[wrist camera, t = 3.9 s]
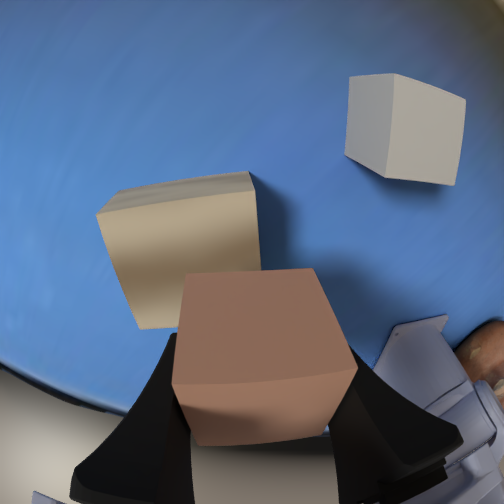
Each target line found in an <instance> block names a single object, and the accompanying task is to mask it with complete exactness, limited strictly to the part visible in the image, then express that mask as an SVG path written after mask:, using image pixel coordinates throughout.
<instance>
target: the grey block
mask: <svg viewBox="0 0 504 504" xmlns="http://www.w3.org/2000/svg"><path fill="white" fill-rule="evenodd" d="M465 107H466V100H465V99H463V98H461V97H459V96H456V95H454V94H452V93H449V92H447V91H444V90H442V89H439V88H437V87H434V86H431V85H428V84H426V83H423V82H420V81H417V80H414V79H411V78H408V77H405V76H401V75H398V74H395V73H393V74H376V75H364V76H354V77H350V78H349V102H348V118H347V132H346V144H345V154H344V155H345V156H347V157H349V158H351V159H353V160H355V161H357V162H358V163H360V164H362V165H364V166H366V167H367V168H369V169H371V170H373V171H374V172H376V173H378V174H380V175H381V176H383V177H385V178H395V179H404V180H413V181H422V182H430V183H437V184H445V185H451V186H454V185H455V180H456V175H457V169H458V164H459V158H460V152H461V145H462V137H463V129H464V119H465Z"/></svg>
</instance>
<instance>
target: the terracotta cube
mask: <svg viewBox="0 0 504 504" xmlns="http://www.w3.org/2000/svg"><path fill="white" fill-rule="evenodd" d="M357 369H358V366H357V364H356V362H355V359H354V357H353V355H352V352H351V350H350V348H349V346H348V343H347V341H346V339H345V336H344V334H343V332H342V330H341V327H340V325H339V323H338V321H337V319H336V316H335V314H334V312H333V310H332V308H331V306H330V303H329V301H328V299H327V297H326V295H325V293H324V291H323V288H322V286H321V284H320V282H319V280H318V278H317V276H316V274H315V272H314V270H313V268H303V269H283V270H263V271H240V272H214V273H186V277H185V283H184V290H183V296H182V303H181V310H180V317H179V324H178V332H177V340H176V348H175V357H174V366H173V375H172V387H173V389H174V392H175V394H176V397H177V399H178V402H179V404H180V406H181V409H182V411H183V413H184V416H185V418H186V420H187V423H188V425H189V427H190V429H191V431H192V433H193V436H194V438H195V440H196V442H197V444H198V446H224V445H225V446H226V445H244V444H258V443H269V442H277V441H285V440H292V439H299V438H305V437H311V436H316V435H321V434H322V433H323V431H324V430H325V428H326V426H327V425H328V423H329V421H330V420H331V418H332V416H333V414H334V413H335V411H336V409H337V407H338V406H339V404H340V402H341V400H342V398H343V397H344V395H345V393H346V391H347V389H348V387H349V385H350V383H351V381H352V379H353V377H354V375H355V373H356V371H357Z"/></svg>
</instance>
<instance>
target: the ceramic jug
mask: <svg viewBox="0 0 504 504" xmlns="http://www.w3.org/2000/svg"><path fill="white" fill-rule="evenodd" d="M454 354H455V356H456V357H457V359H458V360H459V362H460V363H461V365H462V367H463V368H464V370H465V371H466V373H467V375H468V376H469V378H470V380H471V381H472V382H474V383H475V382H476V381H477V380H485V381H486V382H487V383H488V384H489V385H490V387H491V388H492V390H493V391H494V393H495V395H496V396H497V398H498V400H499V402H500V403H501V405H502V407H503V409H504V321H493V322H490V323H488V324H486V325H484V326H482V327H481V328H479V329H478V330H477V331H475V332H474V333H473V334H471V335H470V336H469V337H468V338H467V339H466V340H465V341H464V342H463V343H462V344H461V345H460V346H459V347H458V348H457V349H456V351H455V352H454Z"/></svg>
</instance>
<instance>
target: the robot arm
mask: <svg viewBox="0 0 504 504" xmlns="http://www.w3.org/2000/svg"><path fill="white" fill-rule="evenodd" d="M448 318H449V317H448V315H442V316H438V317H433V318H429V319H425V320H420V321H416V322H411V323H406V324H401V325H397V326H395V327H394V329H393V331H392V333H391V335H390V337H389V339H388V342H387V344H386V346H385V348H384V350H383V352H382V354H381V356H380V358H379V360H378V361H377V363H376V365H375V367H374V369H373V370H372V369H371V368H370V367H369V366H368V365H367V364H366V363H365V362H364V361H363V360H362V359H361V358H360V357H359V356H358V355H357V354H356V353H355V351H354V350H353V349H352V348H351V347H350V346H349V345H348V346H349V348H350V350H351V352H352V355H353V357H354V359H355V362H356V364H357V366H358V369H357V371H356V373H355V375H354V377H353V379H352V381H351V383H350V385H349V387H348V389H347V391H346V393H345V395H344V397H343V398H342V400H341V402H340V404H339V406H338V407H337V409H336V411H335V413H334V414H333V416H332V418H331V420H330V421H329V423H328V427H329V431H330V436H331V441H332V446H333V452H334V458H335V465H336V473H337V482H338V493H339V504H362V503H364V504H504V477H503V475H502V473H501V470H500V468H499V466H498V465H499V463H500V461H501V459H502V458H503V456H504V409H503V407H502V405H501V403H500V402H499V400H498V398H497V396H496V395H495V393H494V391H493V390H492V388H491V387H490V385H489V384H488V383H487V382H486V381H485V380H477V381H476V382H475V383H474V382H472V381H471V380H470V378H469V376H468V375H467V373H466V371H465V370H464V368H463V367H462V365H461V363H460V362H459V360H458V359H457V357H456V356H455V354H454V352H453V351H452V349H451V348H450V346H449V345H448V343H447V342H446V340H445V339H444V337H443V336H442V335H441V331H442V329H443V328H444V326H445V324H446V322H447V320H448ZM176 340H177V333H172V334H171V335H170V338H169V340H168V342H167V345H166V347H165V349H164V352H163V354H162V356H161V358H160V360H159V362H158V364H157V366H156V368H155V370H154V371H153V373H152V375H151V377H150V379H149V381H148V382H147V384H146V386H145V387H144V389H143V391H142V392H141V394H140V396H139V397H138V399H137V400H136V402H135V403H134V405H133V406H132V408H131V409H130V410H129V412H128V413H127V415H126V416H125V417H124V418H123V420H122V421H121V422H120V424H119V425H118V426H117V427H116V428H115V430H114V431H113V432H112V433H111V434H110V435H109V436H108V438H106V439H105V441H104V442H103V443H102V444H101V445H100V446H99V447H98V448H97V449H96V450H95V451H94V452H93V453H91V454H90V455H89V456H88V457H87V458H86V459H85V460H83V461H82V462H81V463H80V464H79V465H78V466H76V467H75V469H74V472H73V476H72V480H71V487H70V495H69V497H70V498H71V500H74V501H76V502H79V503H81V504H195V500H194V491H193V481H192V468H191V448H190V433H191V429H190V427H189V425H188V423H187V420H186V418H185V416H184V413H183V411H182V409H181V406H180V404H179V402H178V399H177V397H176V394H175V392H174V389H173V387H172V375H173V366H174V357H175V348H176ZM492 436H493V437H492ZM491 437H492V438H491ZM490 438H491V439H490ZM489 439H490V440H489ZM487 440H488V441H487ZM486 441H487V442H486ZM485 442H486V443H485ZM483 443H484V444H483ZM482 444H483V445H482ZM480 445H482V446H481V447H479V446H480ZM478 447H479V448H478ZM476 448H478V449H476ZM475 449H476V450H475ZM473 450H475V451H474V452H472V451H473ZM470 452H472V453H470ZM469 453H470V454H469ZM467 454H469V455H467ZM466 455H467V456H466ZM464 456H466V457H464ZM463 457H464V458H463ZM461 458H463V459H462V460H460V459H461ZM458 460H460V461H458ZM457 461H458V462H457ZM455 462H456V463H455ZM453 463H455V464H453ZM32 504H65V503H63V502H60V501H57V500H55V499H53V498H50V497H48V496H45V495H43V494H41V493H39V492H36V491H33V496H32Z"/></svg>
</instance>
